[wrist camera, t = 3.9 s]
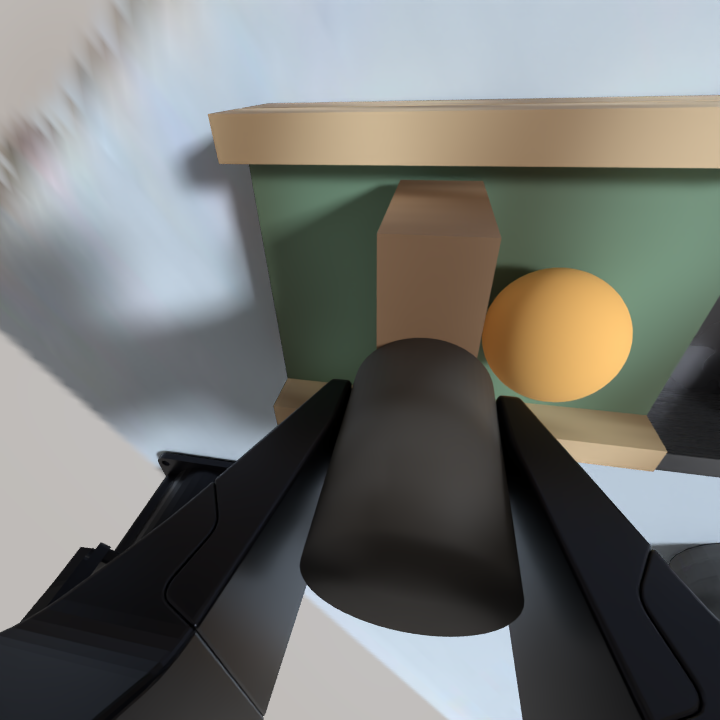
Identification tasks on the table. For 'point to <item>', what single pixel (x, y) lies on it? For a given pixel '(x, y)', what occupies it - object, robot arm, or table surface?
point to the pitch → (515, 223)
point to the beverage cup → (701, 573)
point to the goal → (692, 405)
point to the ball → (557, 334)
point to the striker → (422, 437)
